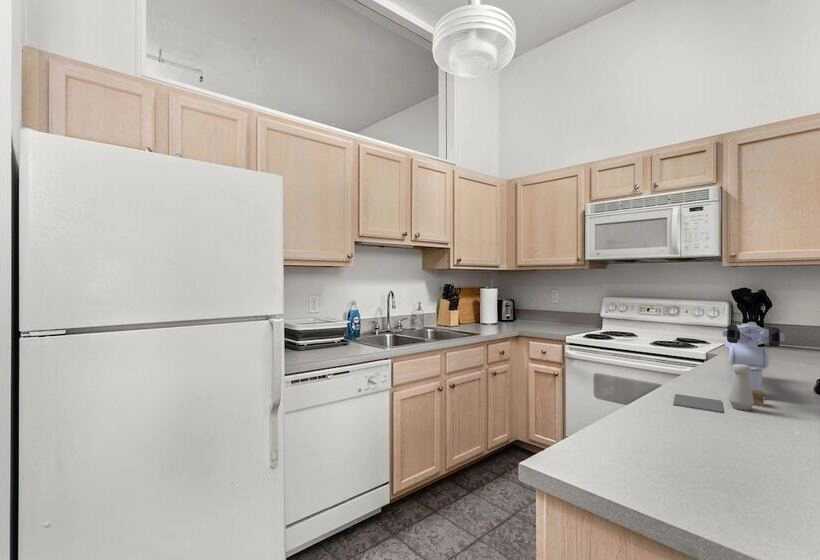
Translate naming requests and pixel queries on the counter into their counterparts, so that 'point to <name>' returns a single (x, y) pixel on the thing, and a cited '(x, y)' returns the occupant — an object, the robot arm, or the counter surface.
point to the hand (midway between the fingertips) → (755, 336)
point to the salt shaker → (741, 388)
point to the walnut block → (758, 398)
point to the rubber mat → (698, 403)
